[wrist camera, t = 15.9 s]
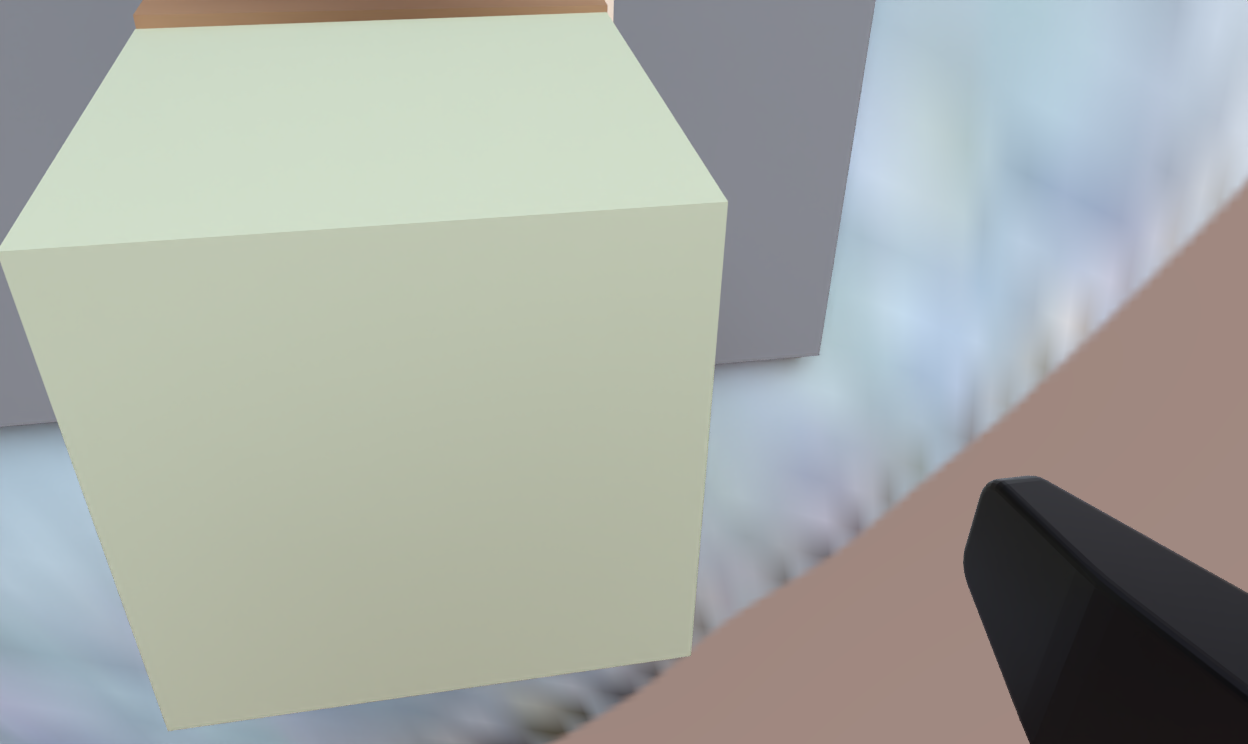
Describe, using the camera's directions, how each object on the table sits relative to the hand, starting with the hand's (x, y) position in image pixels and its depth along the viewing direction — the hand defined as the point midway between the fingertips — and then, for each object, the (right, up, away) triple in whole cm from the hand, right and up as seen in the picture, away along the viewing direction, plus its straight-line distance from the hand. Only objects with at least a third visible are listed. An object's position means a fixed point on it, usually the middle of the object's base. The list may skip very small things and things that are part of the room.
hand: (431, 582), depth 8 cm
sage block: (-1, +3, +5) cm, 6 cm away
